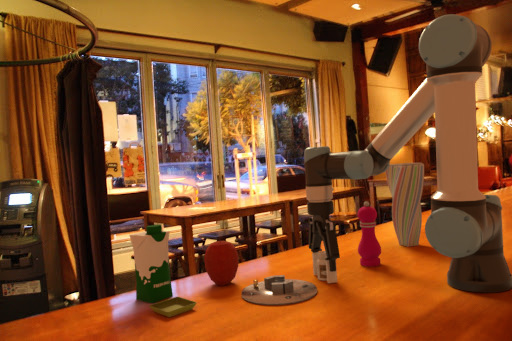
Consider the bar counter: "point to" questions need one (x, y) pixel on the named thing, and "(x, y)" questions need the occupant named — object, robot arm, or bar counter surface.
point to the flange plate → (279, 299)
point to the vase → (406, 200)
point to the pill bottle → (322, 266)
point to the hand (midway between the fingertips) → (325, 278)
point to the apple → (221, 262)
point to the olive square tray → (173, 306)
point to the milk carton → (152, 264)
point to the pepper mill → (368, 237)
